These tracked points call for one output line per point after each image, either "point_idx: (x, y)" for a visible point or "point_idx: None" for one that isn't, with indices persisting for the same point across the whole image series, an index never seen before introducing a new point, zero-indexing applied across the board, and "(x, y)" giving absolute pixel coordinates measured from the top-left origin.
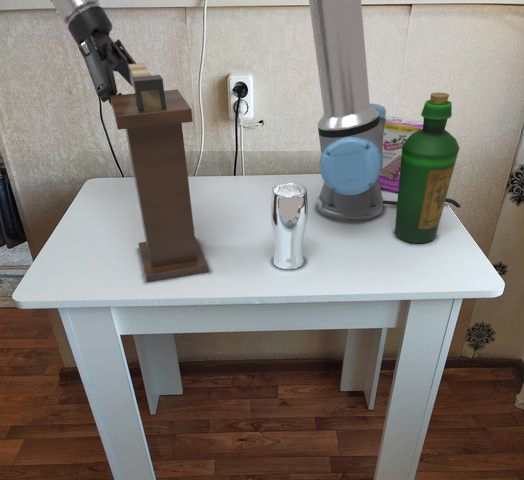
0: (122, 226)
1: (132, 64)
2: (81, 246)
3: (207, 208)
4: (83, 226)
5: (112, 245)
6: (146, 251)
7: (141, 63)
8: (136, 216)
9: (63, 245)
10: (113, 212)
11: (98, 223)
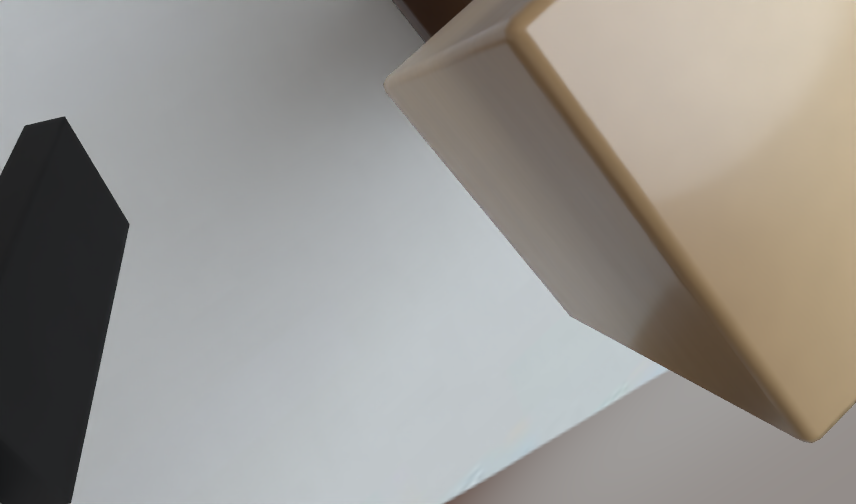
0: (358, 304)
1: (818, 289)
2: (541, 331)
3: (18, 49)
4: (416, 438)
5: (499, 236)
6: None
7: (601, 78)
8: (254, 313)
9: (556, 390)
10: (263, 426)
11: (373, 407)
